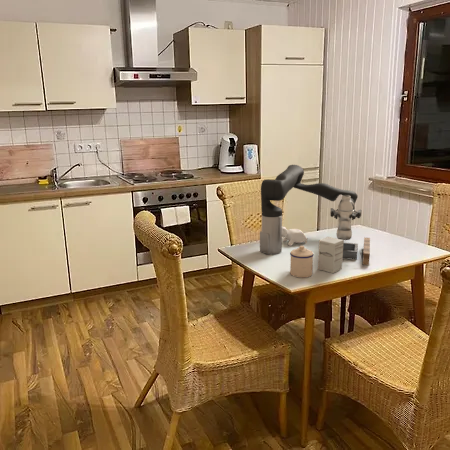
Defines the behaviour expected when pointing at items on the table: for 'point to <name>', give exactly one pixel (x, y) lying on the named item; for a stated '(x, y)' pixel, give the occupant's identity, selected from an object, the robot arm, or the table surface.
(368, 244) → the wooden plank
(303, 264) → the teacup with lid
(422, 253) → the table surface
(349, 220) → the silver bottle
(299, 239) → the white piece
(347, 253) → the keeper
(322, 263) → the supplement box
